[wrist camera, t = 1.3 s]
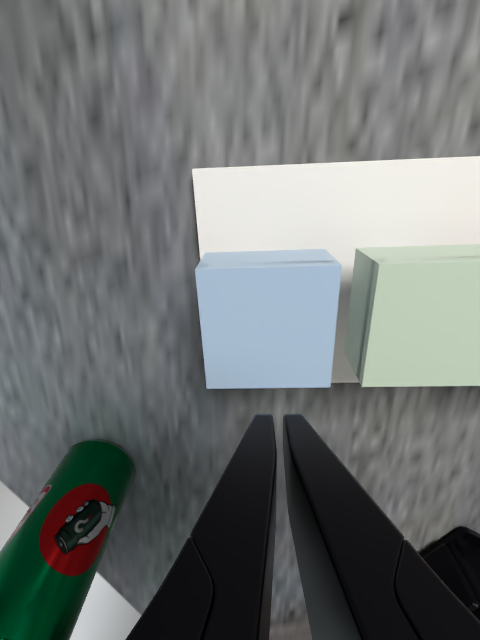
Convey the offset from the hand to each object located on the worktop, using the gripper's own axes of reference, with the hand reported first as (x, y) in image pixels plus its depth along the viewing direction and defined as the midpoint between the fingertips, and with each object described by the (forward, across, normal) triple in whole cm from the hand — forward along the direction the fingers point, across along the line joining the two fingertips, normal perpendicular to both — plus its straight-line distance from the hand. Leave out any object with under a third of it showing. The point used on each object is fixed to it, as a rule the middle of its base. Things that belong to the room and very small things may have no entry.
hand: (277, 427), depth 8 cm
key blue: (+8, 0, 0) cm, 8 cm away
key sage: (+8, -7, 0) cm, 10 cm away
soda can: (+11, +12, +13) cm, 21 cm away
